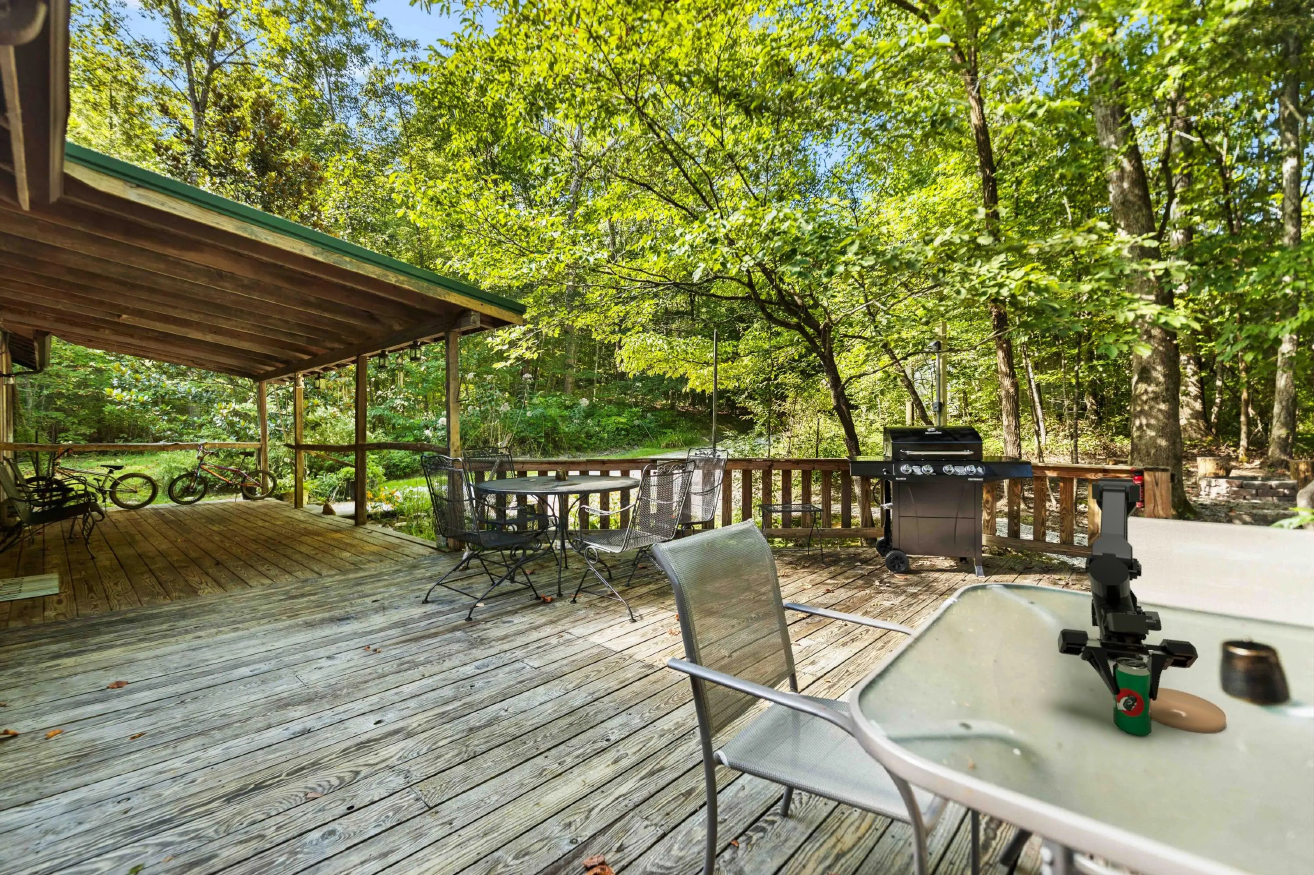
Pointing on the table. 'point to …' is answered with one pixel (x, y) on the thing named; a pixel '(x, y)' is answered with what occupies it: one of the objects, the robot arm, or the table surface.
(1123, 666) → the soda can
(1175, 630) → the table surface
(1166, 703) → the terracotta plate
